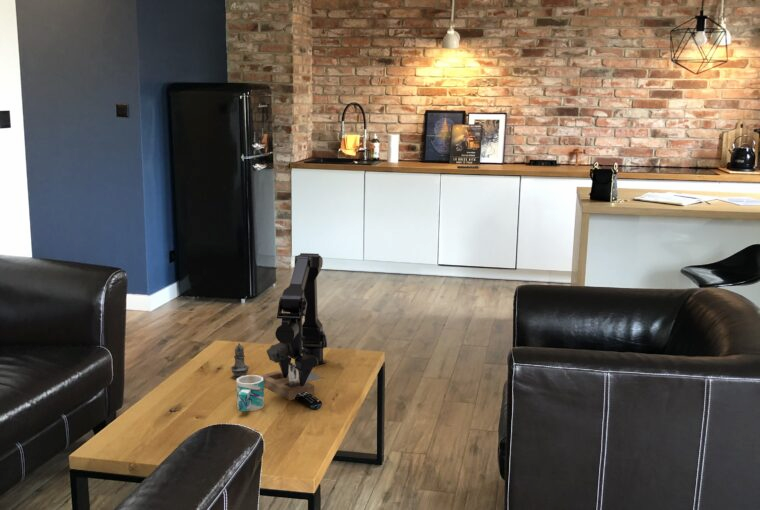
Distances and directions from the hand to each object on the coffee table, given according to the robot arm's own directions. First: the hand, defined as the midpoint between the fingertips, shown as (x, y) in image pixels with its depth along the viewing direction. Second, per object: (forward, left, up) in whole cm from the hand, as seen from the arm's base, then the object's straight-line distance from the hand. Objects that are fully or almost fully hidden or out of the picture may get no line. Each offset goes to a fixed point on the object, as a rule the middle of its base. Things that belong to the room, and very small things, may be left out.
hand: (293, 381), depth 252 cm
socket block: (0, -4, -4) cm, 6 cm away
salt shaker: (+6, -22, -4) cm, 24 cm away
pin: (0, 0, -4) cm, 4 cm away
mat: (-10, -10, -4) cm, 15 cm away
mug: (+17, +2, -4) cm, 18 cm away
